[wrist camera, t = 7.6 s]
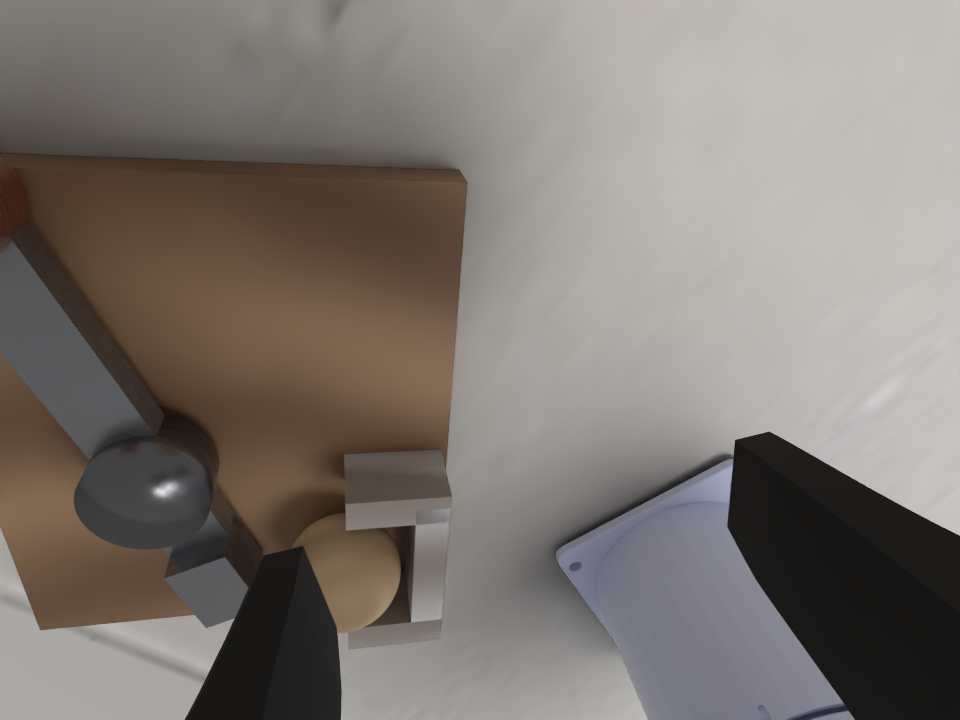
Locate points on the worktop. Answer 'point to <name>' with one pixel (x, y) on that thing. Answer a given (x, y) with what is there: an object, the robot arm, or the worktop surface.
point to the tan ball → (352, 569)
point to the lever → (118, 427)
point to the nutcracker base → (251, 364)
